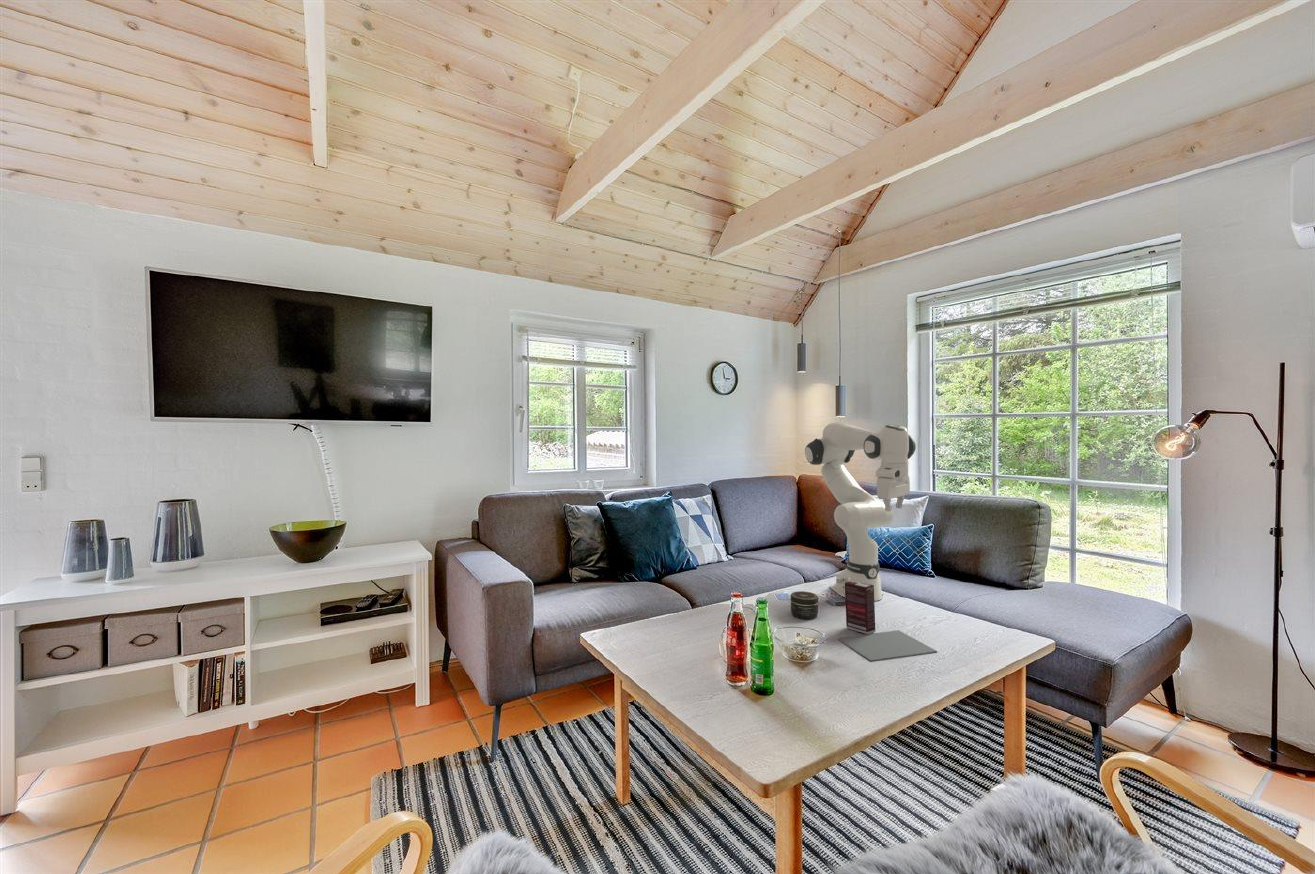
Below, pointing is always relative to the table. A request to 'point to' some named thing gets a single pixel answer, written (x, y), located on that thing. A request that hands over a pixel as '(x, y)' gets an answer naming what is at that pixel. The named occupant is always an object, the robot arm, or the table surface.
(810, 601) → the jar
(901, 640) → the mat
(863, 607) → the supplement box
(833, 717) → the table surface
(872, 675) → the table surface
